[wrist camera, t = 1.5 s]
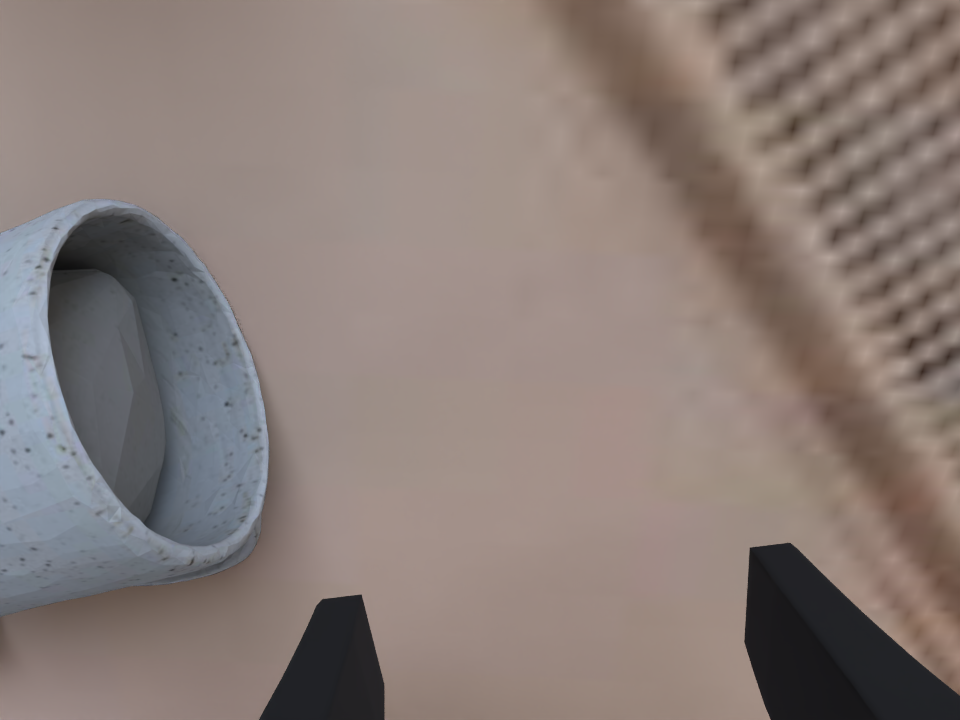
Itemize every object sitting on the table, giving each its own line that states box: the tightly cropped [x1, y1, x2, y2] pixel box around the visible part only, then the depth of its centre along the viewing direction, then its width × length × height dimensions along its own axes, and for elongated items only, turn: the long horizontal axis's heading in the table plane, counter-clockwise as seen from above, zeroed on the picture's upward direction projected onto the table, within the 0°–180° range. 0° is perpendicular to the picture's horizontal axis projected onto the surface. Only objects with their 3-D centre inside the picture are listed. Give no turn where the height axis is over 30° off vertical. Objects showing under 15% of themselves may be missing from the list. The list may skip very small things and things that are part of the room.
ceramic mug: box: [0, 199, 270, 617], centre depth 18 cm, size 11×8×8 cm
